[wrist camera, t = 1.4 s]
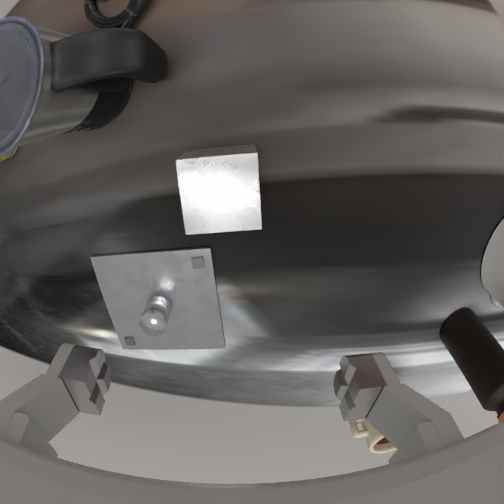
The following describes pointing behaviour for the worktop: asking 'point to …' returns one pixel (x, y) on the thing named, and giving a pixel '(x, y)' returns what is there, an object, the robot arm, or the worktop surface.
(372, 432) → the character mug
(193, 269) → the plate
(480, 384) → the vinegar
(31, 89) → the milk frother
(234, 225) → the chalk-like cube
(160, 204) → the worktop surface
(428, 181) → the worktop surface
